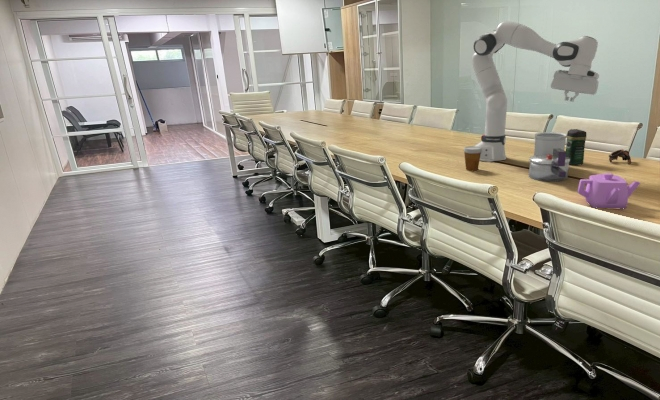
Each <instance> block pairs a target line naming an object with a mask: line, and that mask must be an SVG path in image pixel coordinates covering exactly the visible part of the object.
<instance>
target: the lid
mask: <svg viewBox="0 0 660 400" xmlns="http://www.w3.org/2000/svg"><path fill="white" fill-rule="evenodd" d="M530 161H531V162H534V163H538V164H549V165H556V166H565V164H566V163H569V162H570V158H568V157H566V150H565V149H564V150H562V149H561V148H556V149H553V155H535V156H534V155H531V156H530V157H529V162H530Z"/></svg>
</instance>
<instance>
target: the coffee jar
mask: <svg viewBox="0 0 660 400" xmlns="http://www.w3.org/2000/svg"><path fill="white" fill-rule="evenodd" d="M566 135H567V137H566V144H565V151H566V157H568V158H570V162H569V165H574V166H580V165H583V164H584V159H585V147H586V140H587V131H585V130H583V129H578V128H571V129H569V130H568V131H567V133H566Z"/></svg>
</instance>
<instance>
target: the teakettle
mask: <svg viewBox="0 0 660 400" xmlns="http://www.w3.org/2000/svg"><path fill="white" fill-rule="evenodd" d="M588 178H589V179H587V178H585V179H580V180H579V183H578V187H577V192H576V193H578V195H580V196H582V197H584V198H585V199H584V200H585V202H586V203H587V202H588V203H589V204H590V205H591V206H593V207H592V208H594V209H597V208H620V209H619V210H626V208H627V206H628V202H629V201H628V200H629V198H630V197H631V195H632V194H634V192H635V191H636V189H637V188H638V187H639V186H640V184H641V182H640V181H635V180H633V182H632V183H630V184H629V185H628V182H627V181H626V180H625V178H623V177H621V176H619V175H616V174H613V173H610V172H605V173H598V174H591V175H589V177H588ZM588 203H587V204H588ZM589 204H588V205H589ZM590 205H589V206H590ZM591 206H590V207H591ZM596 207H597V208H596ZM623 208H624V209H623Z"/></svg>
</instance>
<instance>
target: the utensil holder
mask: <svg viewBox="0 0 660 400" xmlns="http://www.w3.org/2000/svg"><path fill="white" fill-rule="evenodd" d="M534 138H535V139H534V152H533V156H535V155H553V149H556V148H561V149H562V150H564V151H565V150H566V142H567V133H561V132H557V131H555V132H554V131H552V132H551V131H550V132H549V131H547V132H538V133H535V134H534Z"/></svg>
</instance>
